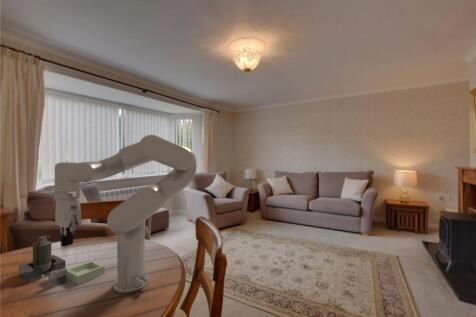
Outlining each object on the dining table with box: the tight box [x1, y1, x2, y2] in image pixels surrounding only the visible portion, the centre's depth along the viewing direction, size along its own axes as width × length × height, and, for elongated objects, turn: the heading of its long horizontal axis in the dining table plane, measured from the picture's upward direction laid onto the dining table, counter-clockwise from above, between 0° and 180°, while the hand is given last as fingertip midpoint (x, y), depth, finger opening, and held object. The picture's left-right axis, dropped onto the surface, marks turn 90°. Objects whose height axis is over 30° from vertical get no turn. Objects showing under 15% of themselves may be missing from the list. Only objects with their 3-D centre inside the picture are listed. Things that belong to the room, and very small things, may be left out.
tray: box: [66, 260, 106, 286], centre depth 94 cm, size 10×10×3 cm
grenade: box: [31, 235, 53, 276], centre depth 97 cm, size 6×6×15 cm
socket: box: [18, 254, 66, 284], centre depth 97 cm, size 12×12×4 cm
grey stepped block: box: [47, 267, 68, 287], centre depth 89 cm, size 8×4×5 cm, turn 58°
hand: (67, 244), depth 84 cm, fingers closed
